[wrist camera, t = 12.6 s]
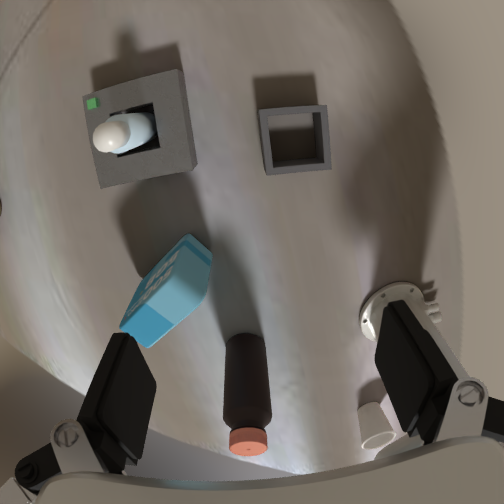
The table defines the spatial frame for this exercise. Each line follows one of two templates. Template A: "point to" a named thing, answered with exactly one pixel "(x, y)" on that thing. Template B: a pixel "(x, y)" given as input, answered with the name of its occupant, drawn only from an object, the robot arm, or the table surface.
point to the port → (167, 120)
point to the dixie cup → (374, 426)
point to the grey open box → (320, 140)
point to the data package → (168, 292)
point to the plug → (125, 132)
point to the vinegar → (246, 394)
